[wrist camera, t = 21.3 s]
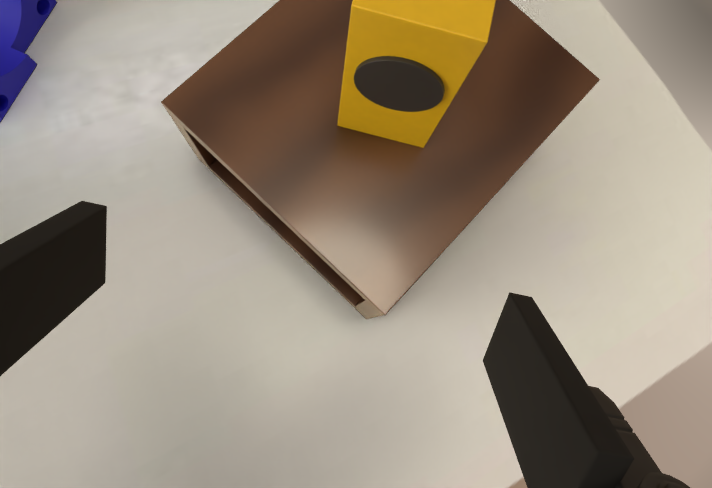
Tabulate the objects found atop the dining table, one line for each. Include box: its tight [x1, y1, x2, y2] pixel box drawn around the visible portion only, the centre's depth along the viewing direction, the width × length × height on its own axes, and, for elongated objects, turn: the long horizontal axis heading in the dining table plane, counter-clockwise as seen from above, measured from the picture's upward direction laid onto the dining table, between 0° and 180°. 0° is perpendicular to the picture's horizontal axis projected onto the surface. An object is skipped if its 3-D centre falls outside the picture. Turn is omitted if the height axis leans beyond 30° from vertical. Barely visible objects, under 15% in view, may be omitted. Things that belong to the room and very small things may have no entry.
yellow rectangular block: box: [337, 0, 496, 148], centre depth 27 cm, size 6×8×12 cm
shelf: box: [161, 0, 600, 319], centre depth 38 cm, size 20×23×10 cm
